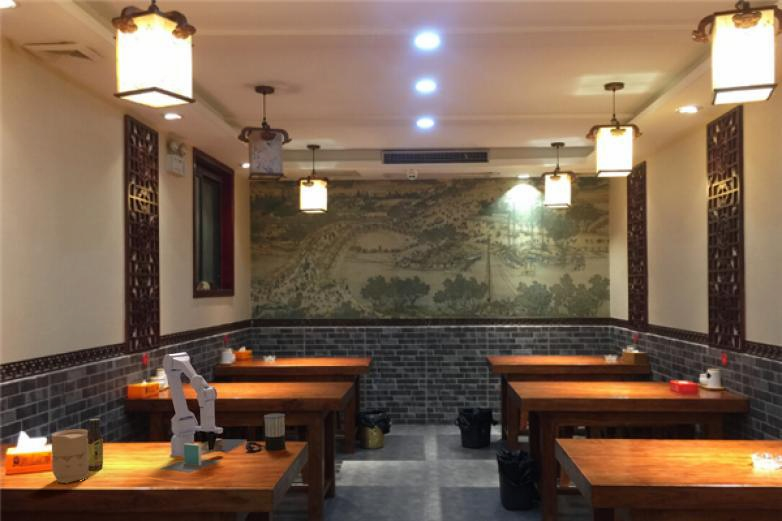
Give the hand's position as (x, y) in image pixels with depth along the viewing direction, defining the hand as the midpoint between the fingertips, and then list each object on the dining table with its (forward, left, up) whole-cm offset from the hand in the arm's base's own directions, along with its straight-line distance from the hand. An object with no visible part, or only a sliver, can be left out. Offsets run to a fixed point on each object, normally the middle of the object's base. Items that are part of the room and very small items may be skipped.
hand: (208, 449), depth 289 cm
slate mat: (0, -10, -4) cm, 11 cm away
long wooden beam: (0, 0, -1) cm, 1 cm away
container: (-31, -42, -5) cm, 53 cm away
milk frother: (+12, +23, -5) cm, 26 cm away
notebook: (-10, +21, -5) cm, 24 cm away
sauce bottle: (-36, -27, -5) cm, 45 cm away
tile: (0, -9, -4) cm, 10 cm away
